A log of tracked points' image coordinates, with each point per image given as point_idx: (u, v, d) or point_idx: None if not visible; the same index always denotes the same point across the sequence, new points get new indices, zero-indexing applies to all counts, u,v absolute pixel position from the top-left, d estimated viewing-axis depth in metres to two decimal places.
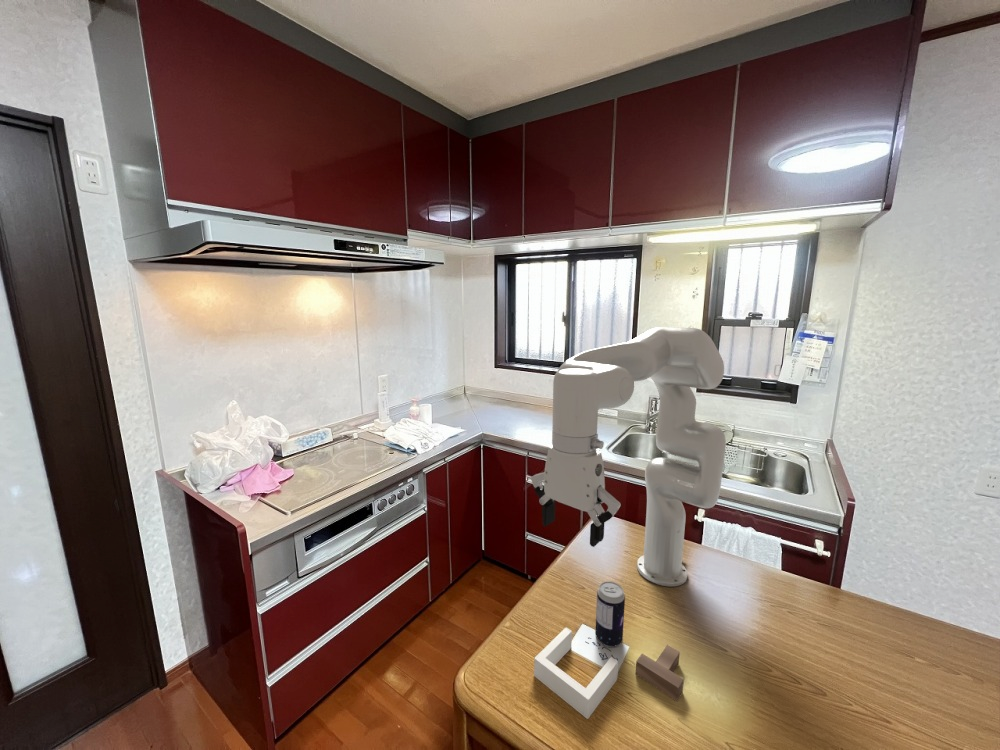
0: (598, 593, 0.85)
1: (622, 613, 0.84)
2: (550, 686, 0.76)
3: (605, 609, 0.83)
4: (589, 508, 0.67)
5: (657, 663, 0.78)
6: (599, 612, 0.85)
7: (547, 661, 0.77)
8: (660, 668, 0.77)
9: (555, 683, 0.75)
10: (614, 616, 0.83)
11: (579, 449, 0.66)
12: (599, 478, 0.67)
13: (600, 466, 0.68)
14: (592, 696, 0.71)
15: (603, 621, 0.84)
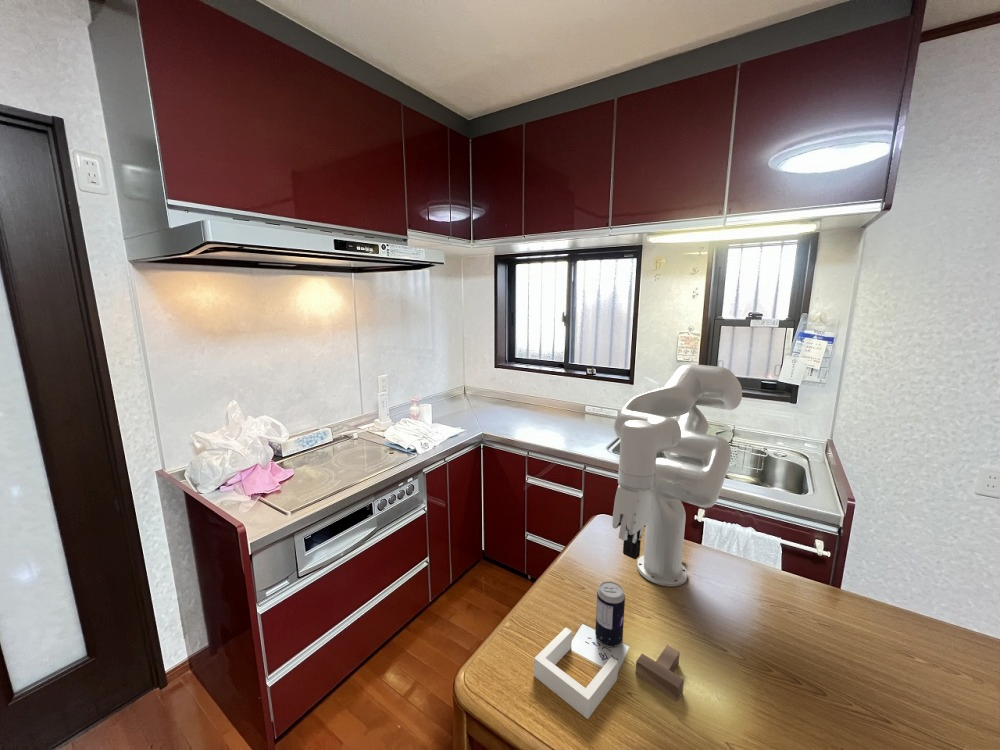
0: (598, 593, 0.85)
1: (622, 613, 0.84)
2: (550, 686, 0.76)
3: (605, 609, 0.83)
4: (650, 517, 0.91)
5: (657, 663, 0.78)
6: (599, 612, 0.85)
7: (547, 661, 0.77)
8: (660, 668, 0.77)
9: (555, 683, 0.75)
10: (614, 616, 0.83)
11: None
12: None
13: None
14: (592, 696, 0.71)
15: (603, 621, 0.84)
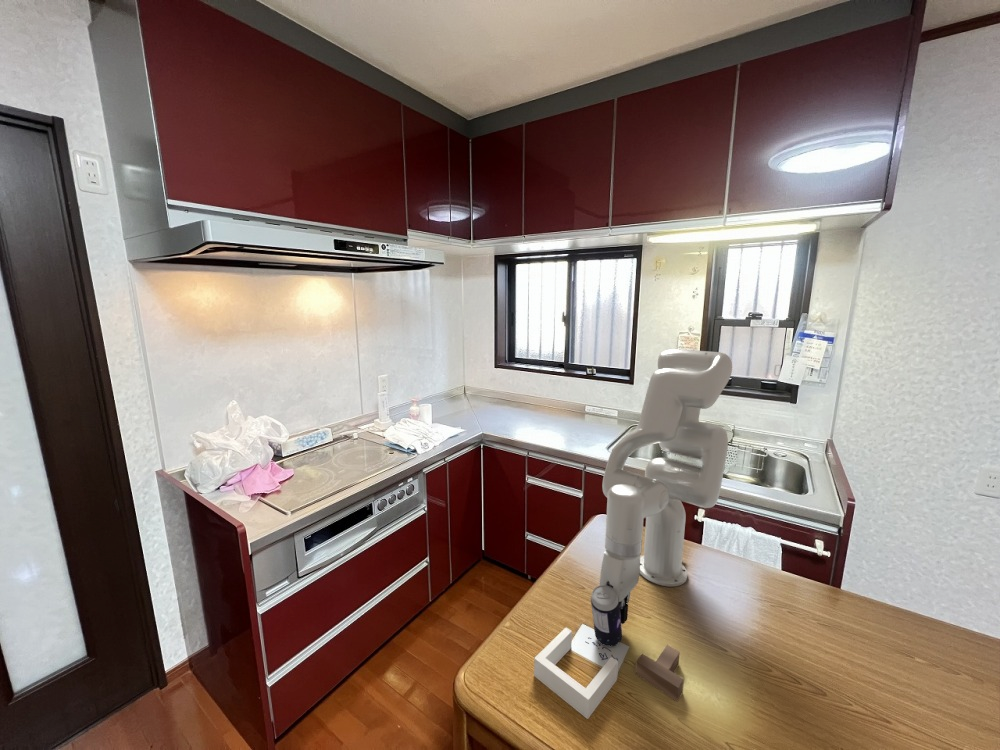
0: (591, 600, 0.83)
1: (618, 616, 0.82)
2: (550, 686, 0.76)
3: (599, 616, 0.82)
4: (638, 580, 0.90)
5: (657, 663, 0.78)
6: (594, 618, 0.83)
7: (547, 661, 0.77)
8: (660, 668, 0.77)
9: (555, 683, 0.75)
10: (610, 621, 0.81)
11: None
12: None
13: None
14: (592, 696, 0.71)
15: (600, 625, 0.83)
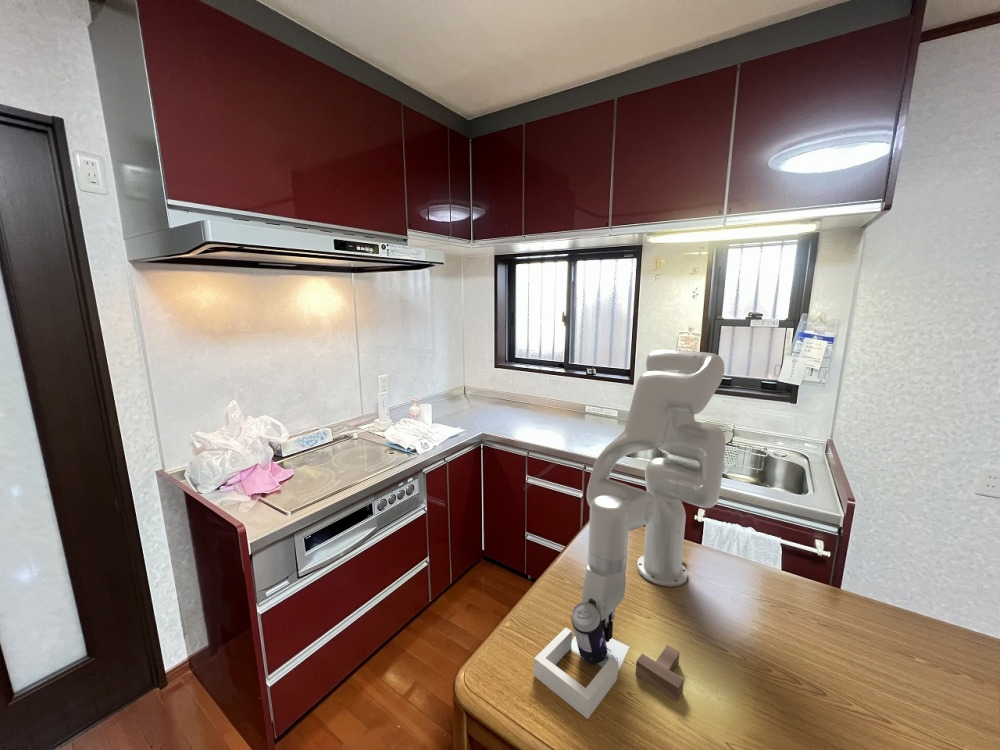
0: (572, 619, 0.78)
1: (600, 636, 0.77)
2: (550, 686, 0.76)
3: (580, 636, 0.77)
4: (623, 595, 0.85)
5: (657, 663, 0.78)
6: (576, 637, 0.79)
7: (547, 661, 0.77)
8: (660, 668, 0.77)
9: (555, 683, 0.75)
10: (591, 642, 0.77)
11: None
12: None
13: None
14: (592, 696, 0.71)
15: (582, 645, 0.78)
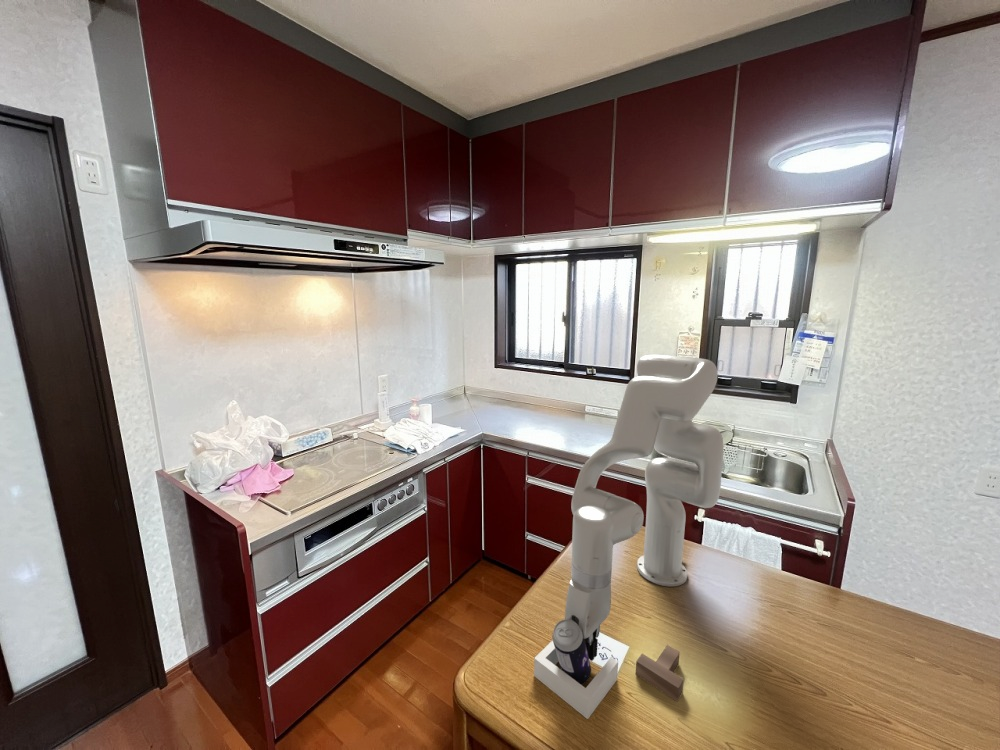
0: (553, 637, 0.74)
1: (582, 655, 0.73)
2: (550, 686, 0.76)
3: (561, 656, 0.73)
4: (609, 611, 0.81)
5: (657, 663, 0.78)
6: (557, 656, 0.75)
7: (547, 661, 0.77)
8: (660, 668, 0.77)
9: (555, 683, 0.75)
10: (573, 662, 0.73)
11: None
12: None
13: None
14: (592, 696, 0.71)
15: (563, 665, 0.74)
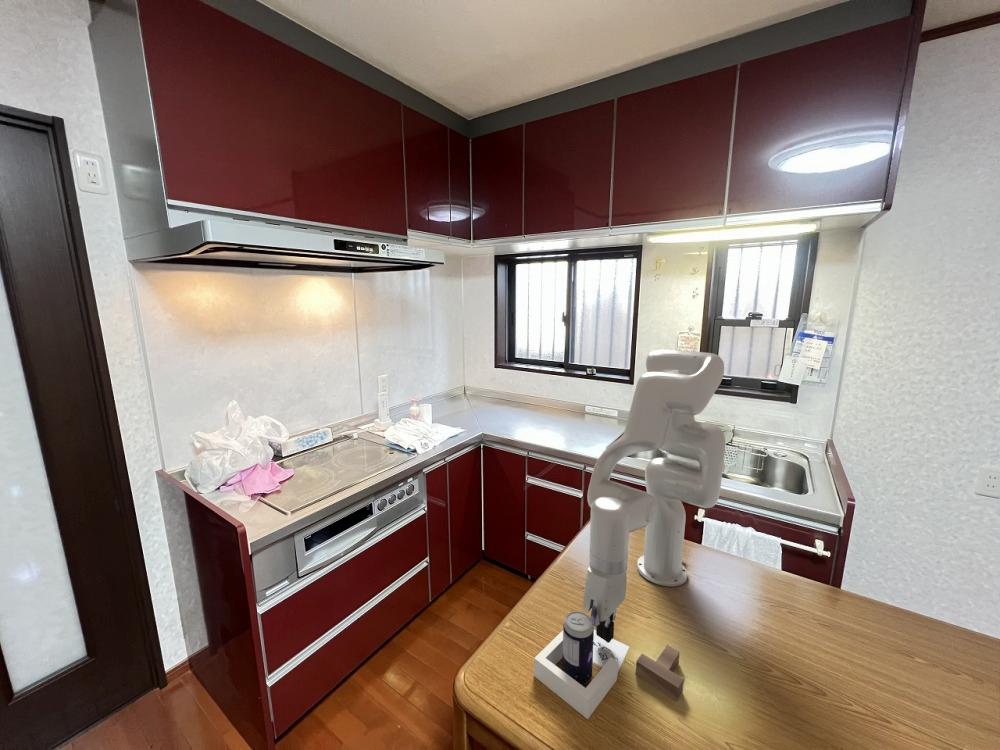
0: (564, 625, 0.77)
1: (590, 648, 0.75)
2: (550, 686, 0.76)
3: (570, 644, 0.75)
4: (624, 596, 0.86)
5: (657, 663, 0.78)
6: (565, 647, 0.76)
7: (547, 661, 0.77)
8: (660, 668, 0.77)
9: (555, 683, 0.75)
10: (581, 652, 0.74)
11: None
12: None
13: None
14: (592, 696, 0.71)
15: (569, 656, 0.75)
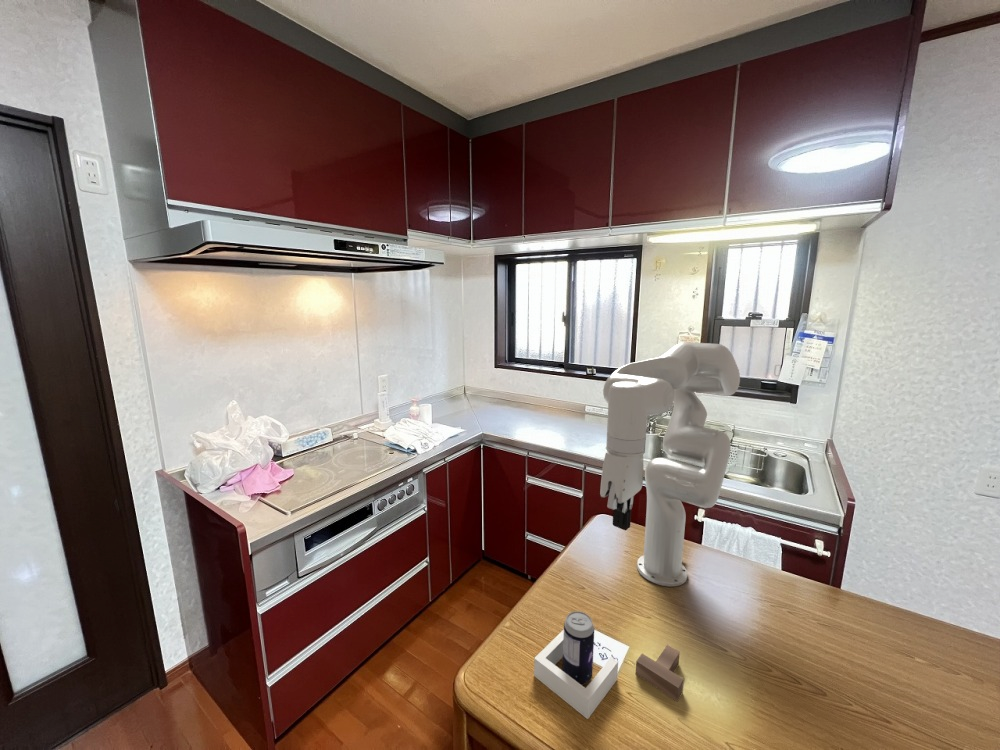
0: (565, 625, 0.77)
1: (591, 648, 0.75)
2: (550, 686, 0.76)
3: (571, 644, 0.75)
4: (641, 486, 0.85)
5: (657, 663, 0.78)
6: (565, 646, 0.76)
7: (547, 661, 0.77)
8: (660, 668, 0.77)
9: (555, 683, 0.75)
10: (582, 652, 0.74)
11: None
12: None
13: None
14: (592, 696, 0.71)
15: (570, 656, 0.75)
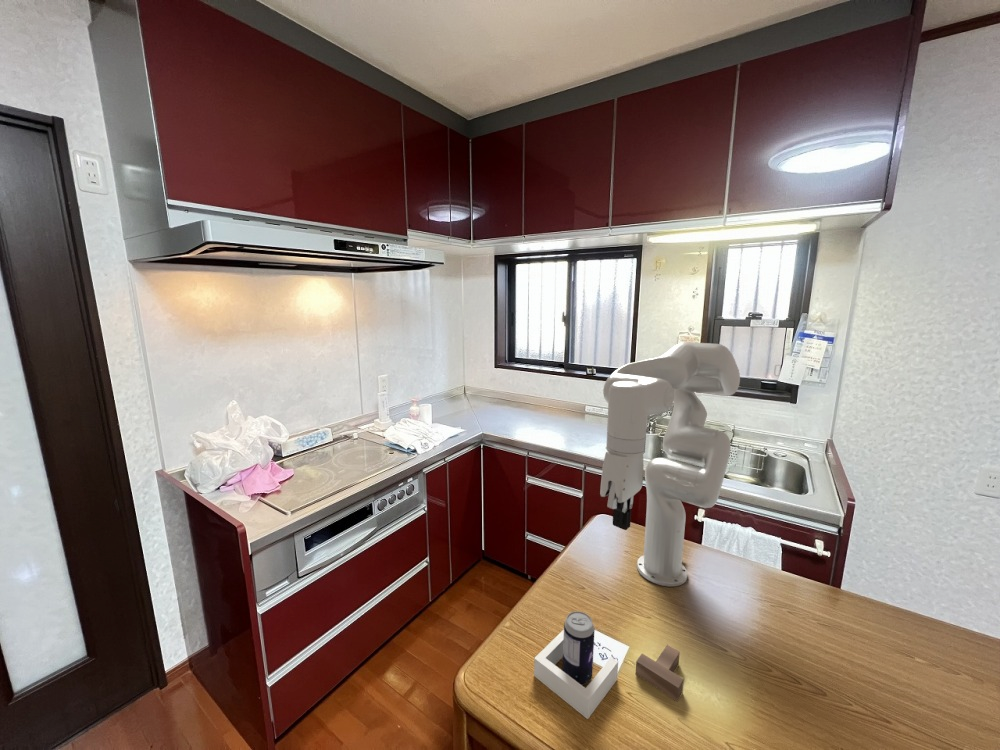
0: (565, 625, 0.77)
1: (591, 648, 0.75)
2: (550, 686, 0.76)
3: (571, 644, 0.75)
4: (641, 485, 0.85)
5: (657, 663, 0.78)
6: (565, 647, 0.76)
7: (547, 661, 0.77)
8: (660, 668, 0.77)
9: (555, 683, 0.75)
10: (582, 652, 0.74)
11: None
12: None
13: None
14: (592, 696, 0.71)
15: (570, 656, 0.75)
